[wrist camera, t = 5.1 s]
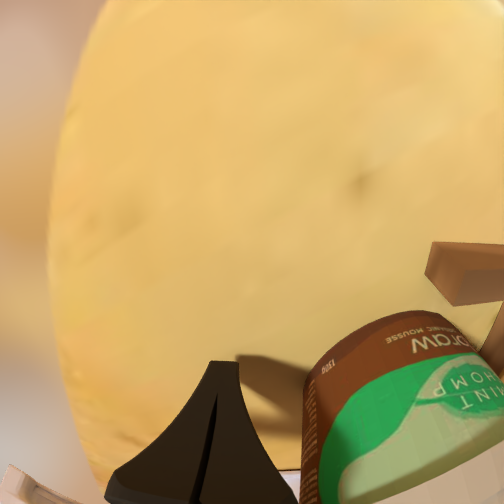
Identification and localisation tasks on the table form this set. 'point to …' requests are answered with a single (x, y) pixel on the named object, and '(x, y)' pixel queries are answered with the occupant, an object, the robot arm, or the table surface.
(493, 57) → the table surface
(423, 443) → the food container
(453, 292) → the dock bay
